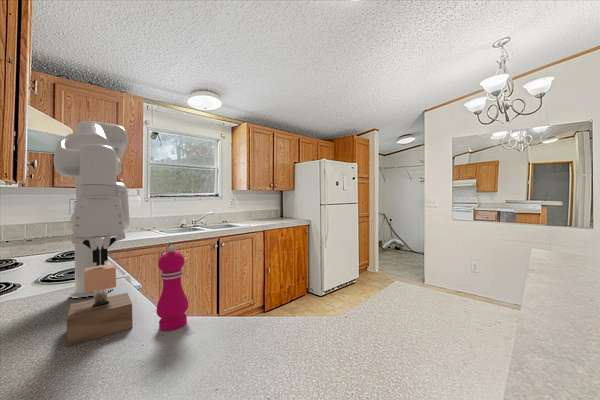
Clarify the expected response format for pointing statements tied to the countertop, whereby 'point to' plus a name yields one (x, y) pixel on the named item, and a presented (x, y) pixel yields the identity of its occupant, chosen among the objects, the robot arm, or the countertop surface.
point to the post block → (98, 319)
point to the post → (100, 298)
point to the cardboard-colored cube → (100, 278)
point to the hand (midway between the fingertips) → (100, 264)
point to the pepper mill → (172, 292)
